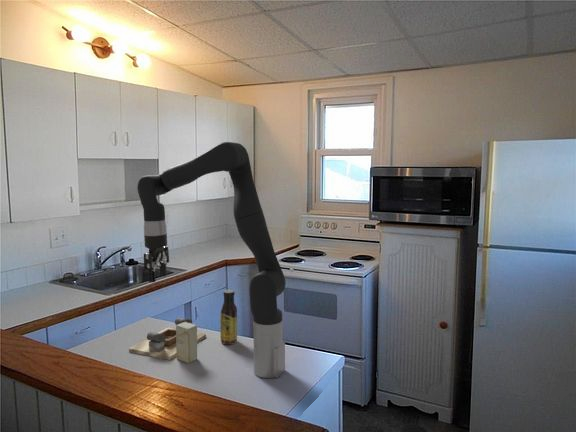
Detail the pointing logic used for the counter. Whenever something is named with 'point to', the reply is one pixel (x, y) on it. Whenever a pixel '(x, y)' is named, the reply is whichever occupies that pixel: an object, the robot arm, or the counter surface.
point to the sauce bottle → (228, 319)
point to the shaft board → (161, 354)
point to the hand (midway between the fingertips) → (158, 278)
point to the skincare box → (186, 342)
